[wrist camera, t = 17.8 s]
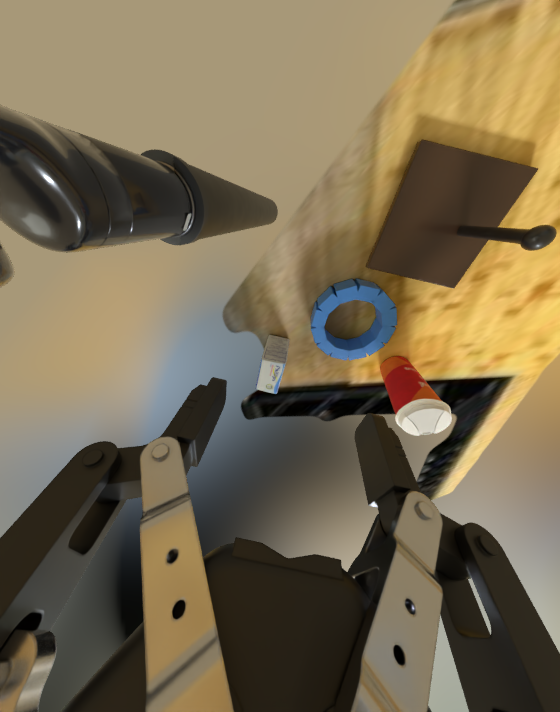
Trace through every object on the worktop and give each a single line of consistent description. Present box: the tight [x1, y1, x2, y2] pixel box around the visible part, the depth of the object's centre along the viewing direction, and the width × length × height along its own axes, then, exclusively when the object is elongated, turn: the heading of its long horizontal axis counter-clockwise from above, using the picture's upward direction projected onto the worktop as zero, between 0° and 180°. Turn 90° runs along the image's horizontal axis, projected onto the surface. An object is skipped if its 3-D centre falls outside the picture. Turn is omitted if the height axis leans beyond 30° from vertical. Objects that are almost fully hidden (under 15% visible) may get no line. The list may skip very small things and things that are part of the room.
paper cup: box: [380, 356, 452, 436], centre depth 36 cm, size 8×8×14 cm
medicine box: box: [256, 335, 289, 394], centre depth 40 cm, size 8×4×9 cm, turn 168°
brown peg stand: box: [366, 140, 556, 288], centre depth 23 cm, size 14×14×13 cm
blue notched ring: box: [311, 278, 397, 360], centre depth 35 cm, size 14×14×4 cm
